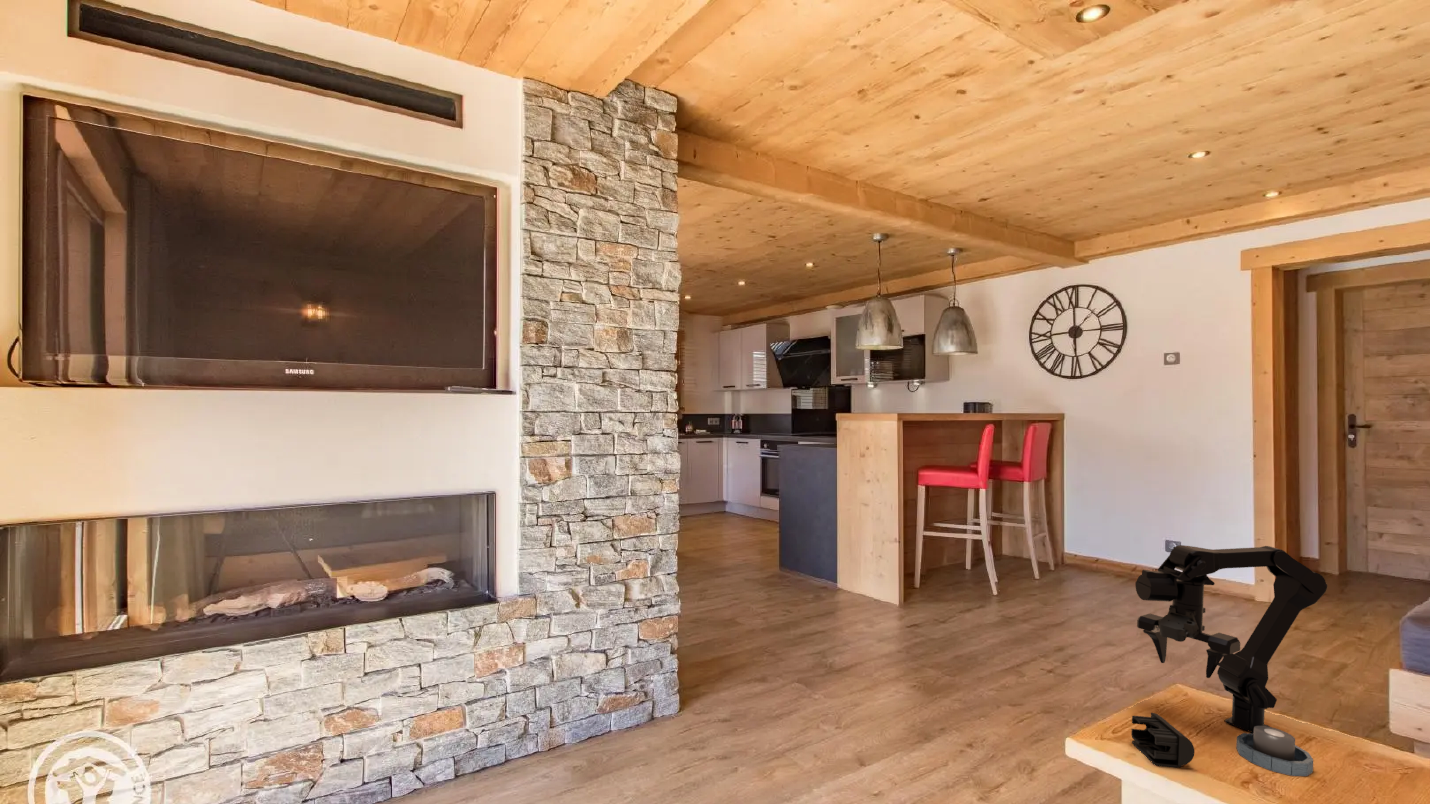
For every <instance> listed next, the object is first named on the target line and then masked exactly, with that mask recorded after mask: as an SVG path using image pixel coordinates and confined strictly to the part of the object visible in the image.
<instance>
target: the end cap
mask: <svg viewBox="0 0 1430 804" xmlns="http://www.w3.org/2000/svg"><path fill="white" fill-rule="evenodd" d="M1131 724H1133V725H1144V726H1145V728H1144V729H1138V728H1131V731H1130V732H1131V735H1130V736H1131V738H1132V741H1131V743H1132V745H1133V746H1134V747H1135V749H1136V750H1138V751H1139V752H1140V751H1141V752H1140V753H1141V754H1142V753H1143V754H1144V755H1145V756H1146V757H1147V758H1146V757H1145V756H1144V755H1143V754H1142V755H1143V756H1144V757H1145V758H1146V759H1147V760H1148V761H1150V762H1151V761H1152V762H1151V764H1152V765H1154V764H1155V765H1156V767H1161V768H1162V767H1163V768H1173V769H1180V768H1181V767H1182V766H1183V767H1184V766H1186V765H1188V764H1189V763H1190V762H1192V760H1193V758H1194V757H1195V747H1194V744H1193V743H1192V741H1191V740H1190V739H1189V738H1188V737H1186V736H1185V735H1184V734H1183V733H1182V732H1180V731H1179V730H1178V729H1177V728H1175V727H1174V725H1172V724H1171V723H1170V722H1168V721H1167V720H1166V719H1165V718H1164V717H1162V716H1161V715H1159V714H1158V713H1155V712H1151V713H1150V716H1144V715H1132V717H1131ZM1155 765H1154V766H1155Z"/></svg>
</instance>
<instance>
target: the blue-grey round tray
mask: <svg viewBox="0 0 1430 804" xmlns="http://www.w3.org/2000/svg"><path fill="white" fill-rule="evenodd" d="M1253 735H1254V733H1252V732H1250V733H1249V732H1242V733H1241V734H1239V735H1236V750H1237V752H1238V754H1239V756H1241V757H1243V758H1244V759H1245V760H1247V761H1248V762H1250V763H1251V764H1254V765H1256V766H1258V767H1261V768H1263V769H1265V770H1267V771H1270V772H1273V773H1279V774H1283V775H1288V776H1292V777H1307V776H1310V775H1311V774H1312V773H1313V772H1314V758H1313V757H1312V755H1311V754H1310V753H1309V752H1308V751H1307V750H1305V749H1303V748H1301V747H1300V746H1299V745H1296V744H1295V757H1294V761H1288V760H1283V759H1279V758H1275V757H1271V756H1269V755H1266V754H1263V753H1261V752H1258V751H1256V750H1254V749H1253Z"/></svg>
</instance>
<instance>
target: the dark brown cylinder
mask: <svg viewBox="0 0 1430 804" xmlns="http://www.w3.org/2000/svg"><path fill="white" fill-rule="evenodd" d="M1268 726H1269V725H1268ZM1268 726H1255V727H1254V735H1253V749H1254V750H1256V751H1258V752H1261V753H1263V754H1266V755H1269V756H1271V757H1275V758H1279V759H1283V760H1288V761H1294V757H1295V745H1296V738H1295V737H1294V736H1293V735H1292V734H1290V733H1288V732H1286V731H1285V730H1281V729H1278V728H1276V727H1272V726H1270V727H1268Z"/></svg>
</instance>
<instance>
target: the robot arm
mask: <svg viewBox="0 0 1430 804" xmlns="http://www.w3.org/2000/svg"><path fill="white" fill-rule="evenodd" d="M1259 567H1260V568H1263V567H1264V568H1265V567H1266V569H1267V570H1268V572H1269V573H1270V574H1272V575H1273V576H1274V577H1275V579H1274V581H1273V596H1274V597H1273V599H1272V601H1271V603H1270V604H1269V605H1268V607H1267V609H1266V610H1265V612H1264V614H1263V615H1262V617H1261V618H1260V620H1259V622H1258V624H1257V626H1255V628H1254V630H1253V631H1252V633H1251V635H1250V636H1249V638H1248V639H1247V641H1246V642H1245V644H1244V646H1243V648H1242V649H1241V641H1240V640H1239V638H1238V637H1236V636H1232V635H1229V634H1225V633H1222V632H1217V633H1214V634H1210V633H1209V634H1208V633H1205V632H1204V631H1205V629H1206V628H1205V627H1206V626H1205V625H1203V619H1204V618H1203V617H1204V614H1205V613H1206V607H1204V597H1205V593H1204V592H1205V586H1214V585H1215V582H1214V581H1213V580H1212V579H1211V578H1210V577H1209V576H1208V575H1211V574H1215V573H1216V572H1218V571H1220V570H1225V569H1241V568H1242V569H1243V568H1259ZM1134 587H1135V591H1136V594H1137V596H1138V597H1139V598H1140V599H1141V601H1149V602H1172V603H1171V604H1170V605H1169V608H1168V612H1167V614H1165V615H1164V616H1160V615H1157V614H1153V613H1147V614H1143V615H1140V616H1138V618H1137V620H1136V627H1137V628H1138V629H1141V630H1142V632H1143V633H1144V634H1146V635H1147V636H1149V637H1150V639H1151V641H1152V642H1153V644H1154V647H1155V650H1156V652H1157V656H1158V658H1159V661H1160V663H1161V664H1164V663H1165V662H1166V659H1167V648H1168V646H1167V645H1168V639H1171V640H1174V641H1175V642H1181V643H1182V642H1184V641H1186V639H1187V638H1189V639H1193V640H1196V641H1200V642H1202V643H1205V644H1207V646H1208V647H1209V648H1208V649H1206V650H1205V651H1206V654H1207V661H1206V668H1205V677H1206V679H1210V678H1212V675H1213V674H1214V672H1215V670H1216V669H1217V667H1218V669H1217V672H1216V674H1217V675H1218V679H1219V681H1220V682H1221V683H1222V686H1223V688H1224V690H1225V691H1226V692H1228V693H1230V694H1232V701H1231V702H1232V704H1231V706H1232V707H1231V716H1230V717H1228V718H1226V719H1225V720H1224V722H1225V723H1226V724H1228V725H1231V726H1234V727H1237V728H1239V729H1242V730H1245V731H1247V732H1250V733H1254V727H1255V726H1268V727H1271V726H1270V725H1268V724H1265V712H1266V711H1265V710H1268V709H1269V708H1270V709H1274V708H1275V705H1276V703H1277V701H1278V699H1277V698H1276V697H1275V696H1274V695H1273V693H1272V692H1270V690H1269V689H1268V688H1267V687H1266V685H1267V683H1268V681H1269V669H1268V667H1269V666H1268V664H1269V663H1270V661H1271V659H1272V657H1273V656H1274V654H1275V652H1276V651H1277V650H1278V647H1279V646H1280V644H1281V643H1282V642H1283V639H1284V638H1285V637H1286V635H1287V633H1288V632H1289V630H1290V628H1291V627H1292V626H1293V624H1294V622H1295V621H1296V620H1297V617H1298V616H1299V614H1300V613H1301V612H1302V611H1303V610H1304V609H1306V608H1309V607H1310V606H1313V605H1314V604H1316V603H1317V602H1319V600H1320V599H1321V598H1322V597H1323V596H1324V595H1325V593H1326V592H1327V590H1328V584H1327V582H1326V579H1325V577H1324V576H1323V575H1322V574H1321V573H1318V572H1315V571H1313V570H1312V569H1310V568H1309V567H1307V566H1306V565H1304V564H1303V563H1301V562H1300V561H1298V560H1297V559H1295V558H1293V557H1292V556H1291V555H1290V554H1289V553H1288V552H1286V551H1285V550H1283V549H1280V548H1276V547H1273V546H1269V545H1263V546H1258V547H1239V548H1235V547H1234V548H1220V549H1219V548H1218V549H1217V548H1216V549H1211V548H1203V547H1198V546H1193V545H1183V544H1180V545H1176V546H1174V547H1173V548H1172V549H1171V550H1170V554H1169V555H1168V556H1167V558H1166V559H1165V560H1164V561H1163V562H1162V563H1161V564H1160V566H1158V568H1157V571H1156V570H1150V569H1142V570H1141V574H1140V575H1138V577H1137V580H1136V581H1135V586H1134Z"/></svg>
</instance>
